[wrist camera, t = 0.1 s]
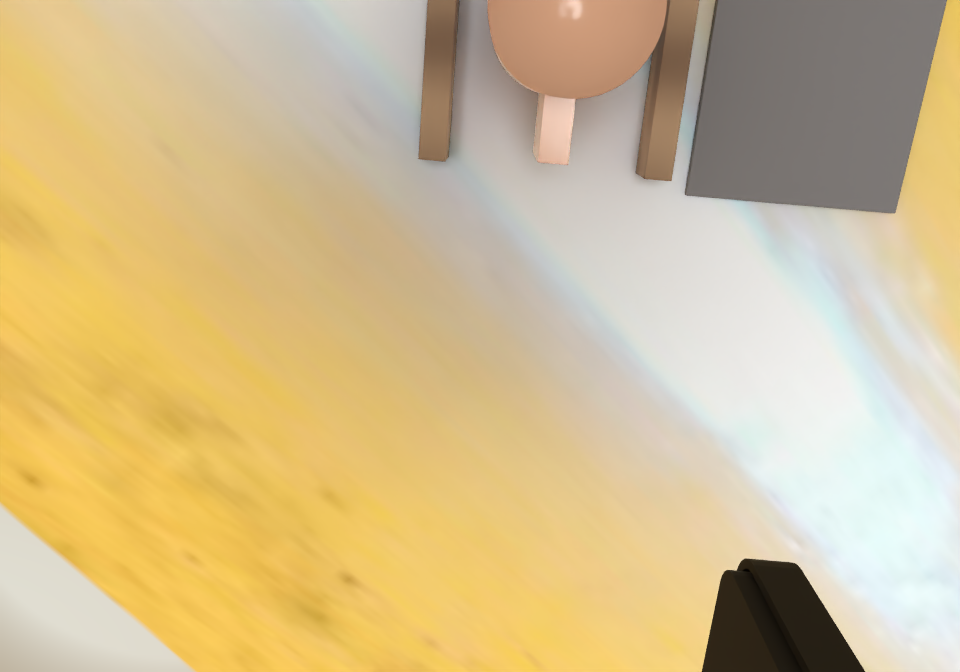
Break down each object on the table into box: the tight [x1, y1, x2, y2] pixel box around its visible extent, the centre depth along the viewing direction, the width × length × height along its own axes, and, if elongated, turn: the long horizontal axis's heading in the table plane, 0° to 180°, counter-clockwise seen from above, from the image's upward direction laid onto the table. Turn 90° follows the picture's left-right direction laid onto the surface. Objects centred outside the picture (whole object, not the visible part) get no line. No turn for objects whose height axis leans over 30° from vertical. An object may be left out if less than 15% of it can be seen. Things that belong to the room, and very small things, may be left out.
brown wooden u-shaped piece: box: [419, 0, 699, 181], centre depth 35 cm, size 12×11×2 cm
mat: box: [685, 0, 947, 213], centre depth 36 cm, size 10×10×1 cm
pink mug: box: [488, 0, 667, 165], centre depth 32 cm, size 8×6×10 cm
